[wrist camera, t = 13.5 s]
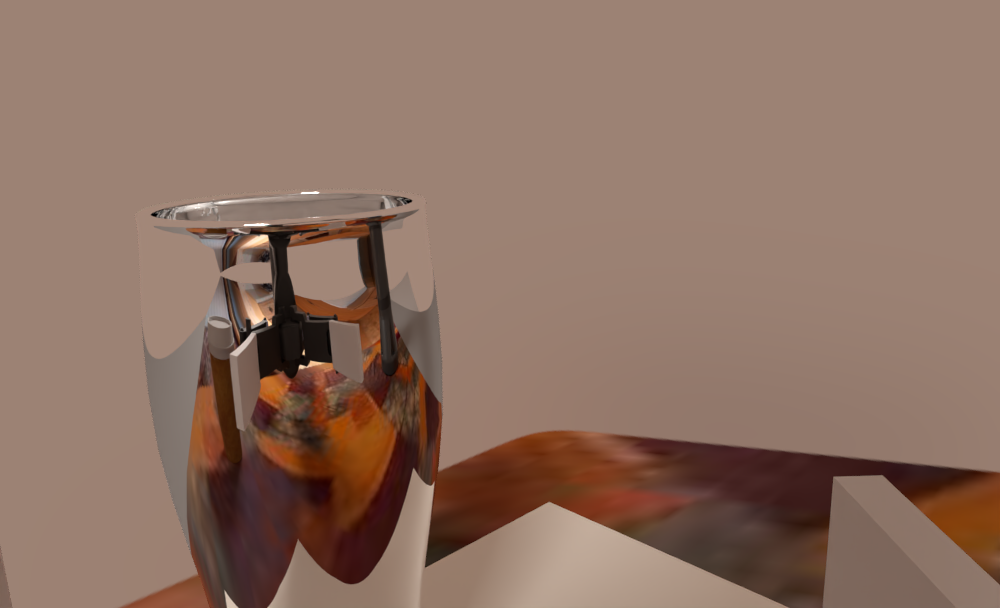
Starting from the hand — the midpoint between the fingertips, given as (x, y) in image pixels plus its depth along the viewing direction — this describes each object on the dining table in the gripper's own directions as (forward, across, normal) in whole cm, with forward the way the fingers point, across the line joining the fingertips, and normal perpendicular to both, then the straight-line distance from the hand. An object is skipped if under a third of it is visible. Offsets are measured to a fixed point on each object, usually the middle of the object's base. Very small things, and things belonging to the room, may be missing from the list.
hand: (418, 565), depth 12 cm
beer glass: (+8, -4, -10) cm, 13 cm away
